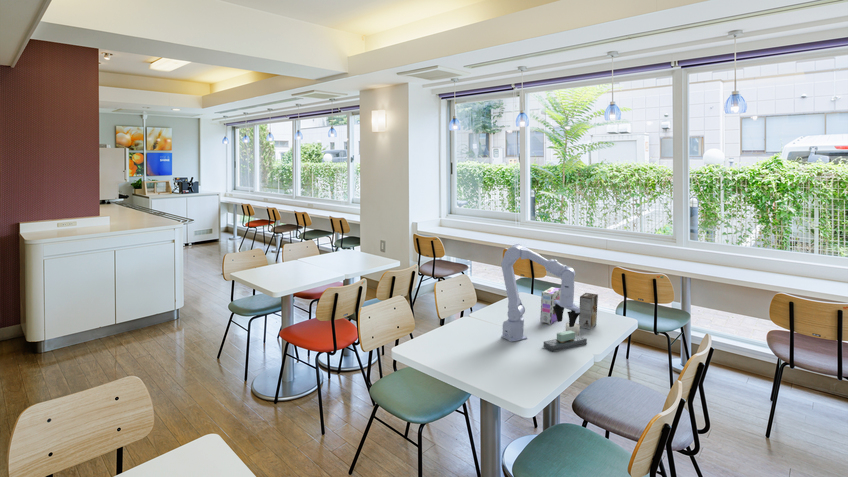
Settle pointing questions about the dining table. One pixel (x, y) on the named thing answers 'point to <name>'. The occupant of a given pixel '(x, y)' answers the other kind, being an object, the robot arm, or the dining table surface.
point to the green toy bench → (565, 336)
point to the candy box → (549, 305)
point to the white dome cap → (573, 328)
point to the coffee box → (588, 310)
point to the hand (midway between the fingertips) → (565, 323)
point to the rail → (555, 345)
